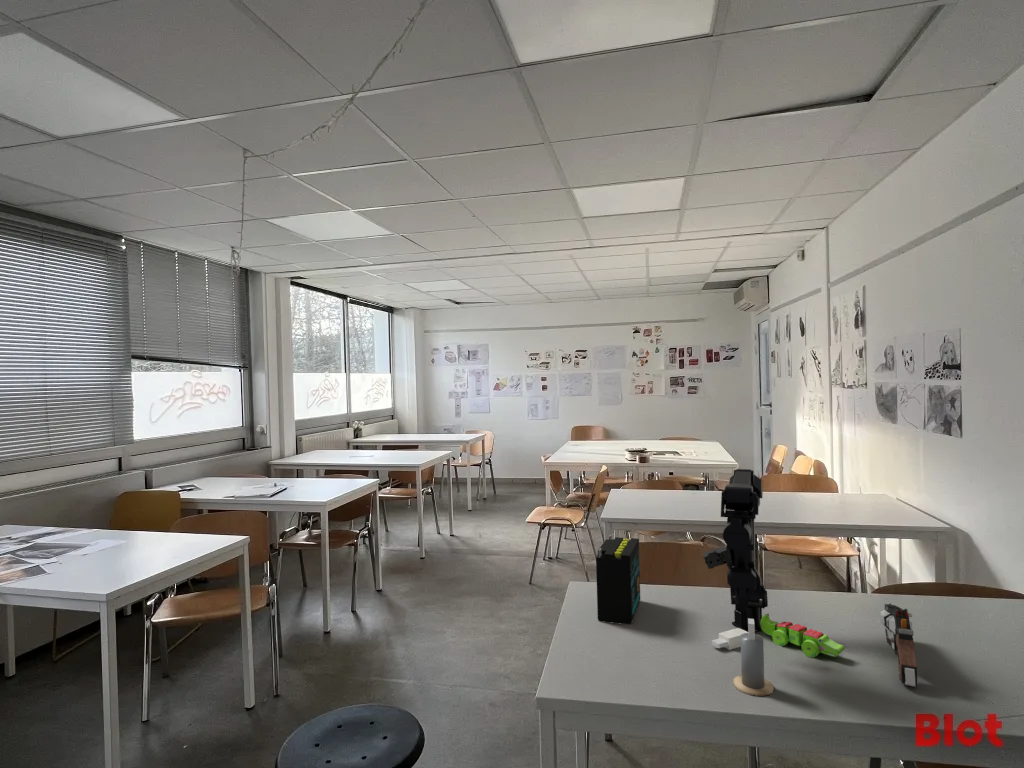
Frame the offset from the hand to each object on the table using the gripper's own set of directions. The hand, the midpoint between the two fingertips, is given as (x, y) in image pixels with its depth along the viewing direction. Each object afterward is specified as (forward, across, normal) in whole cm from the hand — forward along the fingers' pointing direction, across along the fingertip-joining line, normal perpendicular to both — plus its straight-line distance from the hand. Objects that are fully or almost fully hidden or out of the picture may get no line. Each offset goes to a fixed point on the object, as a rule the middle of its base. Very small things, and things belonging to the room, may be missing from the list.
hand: (742, 603), depth 139 cm
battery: (+13, -22, -34) cm, 42 cm away
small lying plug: (+13, -6, -3) cm, 15 cm away
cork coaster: (+13, +14, +2) cm, 19 cm away
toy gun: (+13, -9, +34) cm, 38 cm away
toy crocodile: (+13, -10, +13) cm, 21 cm away
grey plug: (+12, +14, +2) cm, 18 cm away
